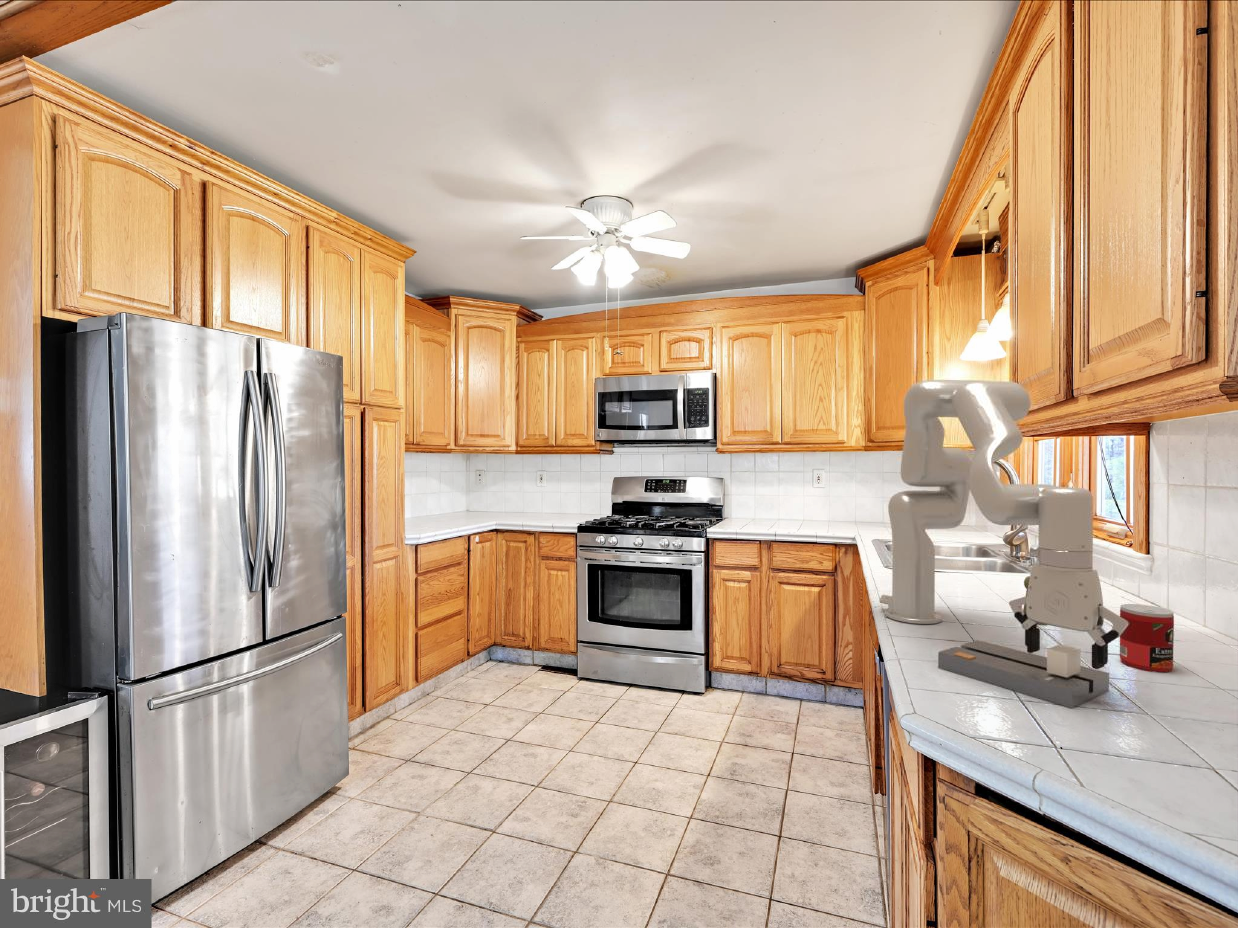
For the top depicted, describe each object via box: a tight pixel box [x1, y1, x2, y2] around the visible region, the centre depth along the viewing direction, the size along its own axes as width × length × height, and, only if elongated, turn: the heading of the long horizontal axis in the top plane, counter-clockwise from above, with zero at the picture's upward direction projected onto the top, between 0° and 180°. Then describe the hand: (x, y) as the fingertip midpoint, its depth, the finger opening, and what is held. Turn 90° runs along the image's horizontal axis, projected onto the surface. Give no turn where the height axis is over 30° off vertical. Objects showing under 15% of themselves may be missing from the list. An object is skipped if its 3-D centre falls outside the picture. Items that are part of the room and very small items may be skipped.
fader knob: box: [1046, 643, 1082, 677], centre depth 105 cm, size 3×5×6 cm, turn 122°
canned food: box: [1119, 603, 1175, 673], centre depth 117 cm, size 8×8×11 cm
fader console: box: [937, 639, 1110, 709], centre depth 111 cm, size 22×14×3 cm, turn 32°
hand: (1064, 659), depth 105 cm, fingers open, 9 cm apart
